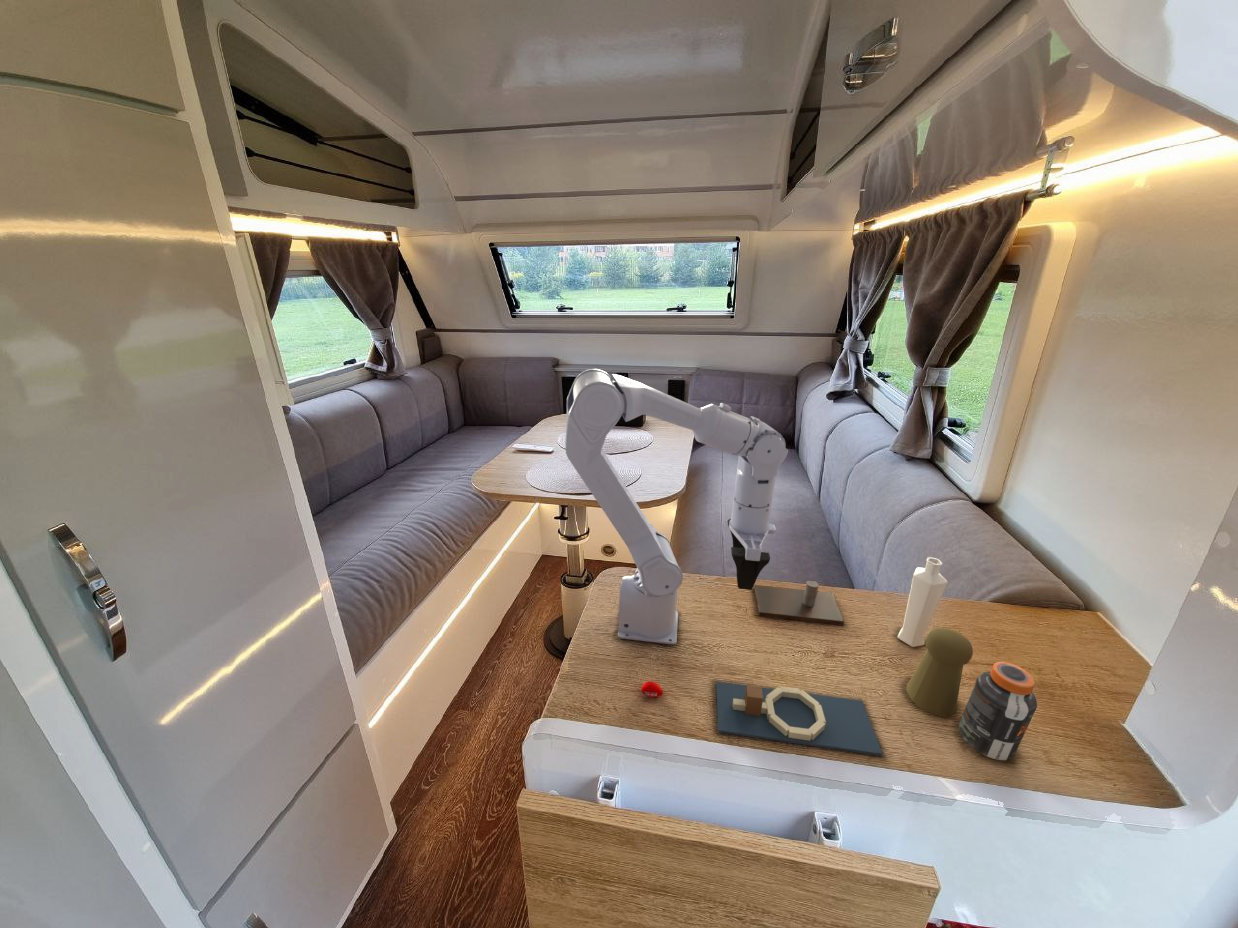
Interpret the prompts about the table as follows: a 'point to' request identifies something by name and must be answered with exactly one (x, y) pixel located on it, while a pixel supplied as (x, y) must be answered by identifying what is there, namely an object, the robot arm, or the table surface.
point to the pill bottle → (999, 711)
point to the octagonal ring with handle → (756, 706)
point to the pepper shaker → (940, 672)
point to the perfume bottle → (922, 602)
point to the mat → (800, 720)
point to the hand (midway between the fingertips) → (742, 573)
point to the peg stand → (798, 604)
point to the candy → (652, 689)
